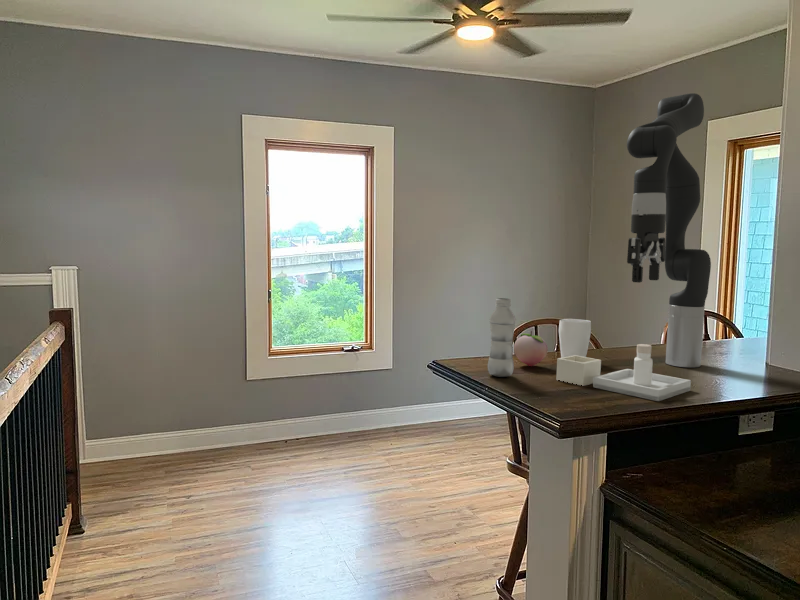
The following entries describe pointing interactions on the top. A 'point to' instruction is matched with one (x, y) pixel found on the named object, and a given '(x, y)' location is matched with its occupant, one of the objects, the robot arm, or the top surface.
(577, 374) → the holder
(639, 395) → the tray
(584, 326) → the cup
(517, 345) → the decorative fruit
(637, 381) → the pepper shaker
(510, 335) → the plastic bottle
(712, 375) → the top surface
